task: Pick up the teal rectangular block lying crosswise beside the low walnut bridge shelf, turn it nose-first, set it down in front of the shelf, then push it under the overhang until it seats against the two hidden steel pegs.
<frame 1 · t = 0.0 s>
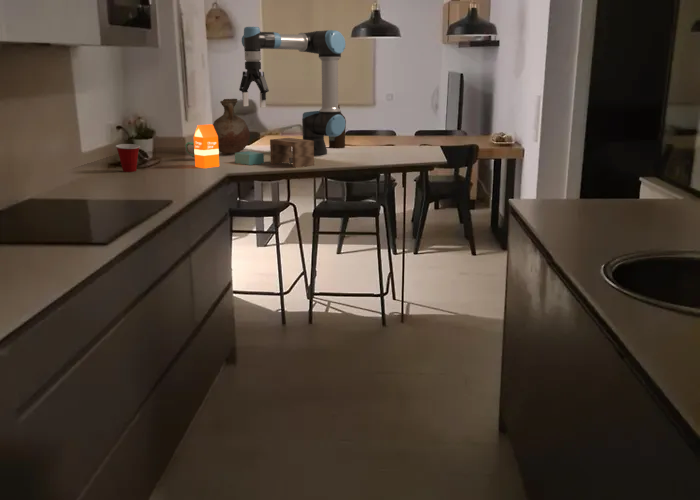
hand: (254, 106, 330), 28 cm above the counter, tool pointing down, fingers open, 13 cm apart
mug: (200, 160, 353), on the counter
teal rectangular block: (249, 163, 343), on the counter
orange juice: (207, 167, 331), on the counter
olive oil: (336, 147, 409), on the counter
plastic cup: (130, 171, 316), on the counter
shelf: (292, 164, 338), on the counter
jug: (231, 154, 377), on the counter
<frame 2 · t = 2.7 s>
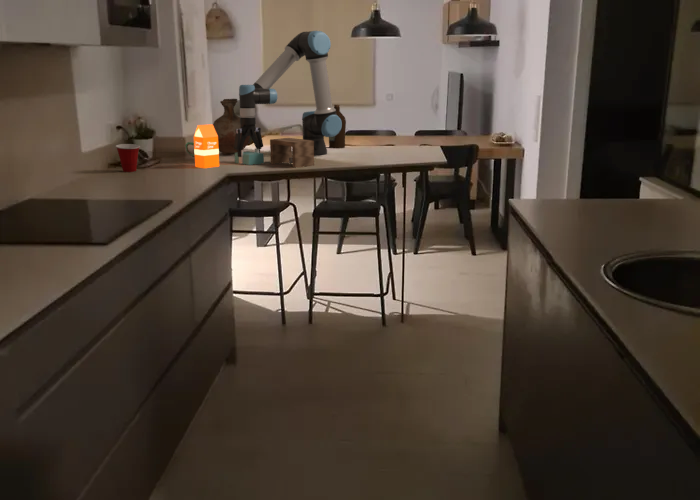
hand: (249, 162, 343), 0 cm above the counter, tool pointing down, fingers closed on teal rectangular block, 9 cm apart
teal rectangular block: (249, 163, 343), on the counter, touching gripper
everything else where it was.
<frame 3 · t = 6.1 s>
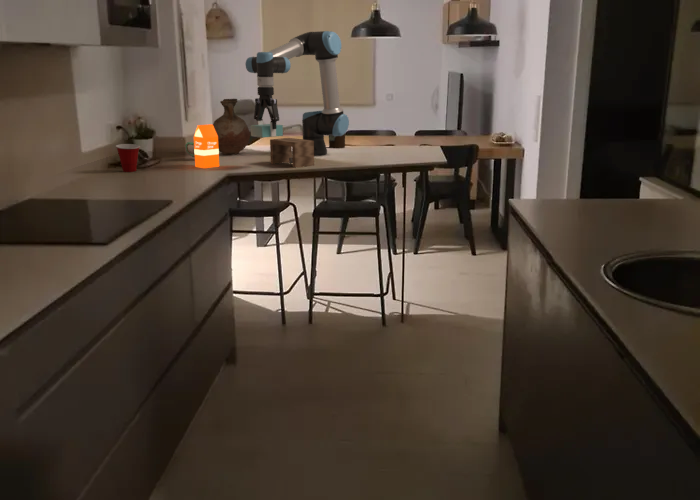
hand: (266, 135, 324), 15 cm above the counter, tool pointing down, fingers closed on teal rectangular block, 9 cm apart
teal rectangular block: (266, 135, 324), point 15 cm above the counter, touching gripper
everything else where it was.
when the fingers open (1 cm above the counter, at t = 9.1 s): teal rectangular block stays where it is, on the counter.
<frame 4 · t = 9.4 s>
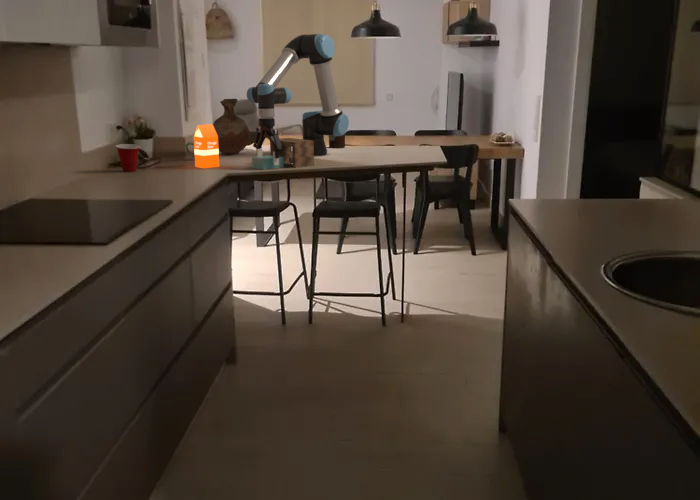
hand: (267, 163, 327), 2 cm above the counter, tool pointing down, fingers open, 12 cm apart
teal rectangular block: (268, 167, 328), on the counter
everything else where it was.
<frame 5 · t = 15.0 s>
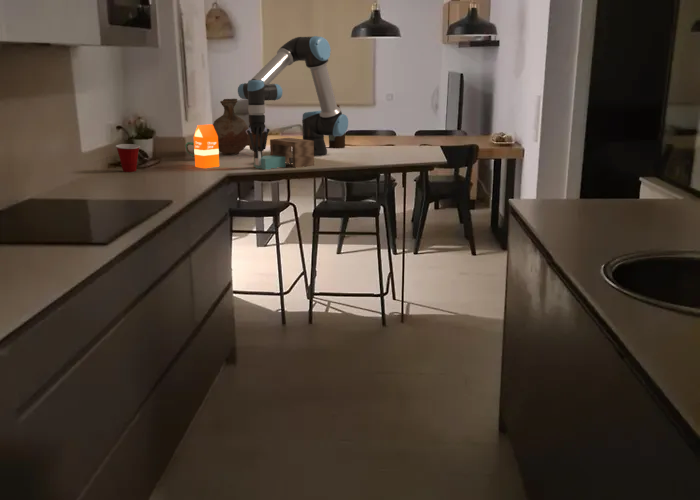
hand: (258, 164, 324), 2 cm above the counter, tool pointing down, fingers closed
teal rectangular block: (269, 167, 329), on the counter, touching gripper
everything else where it was.
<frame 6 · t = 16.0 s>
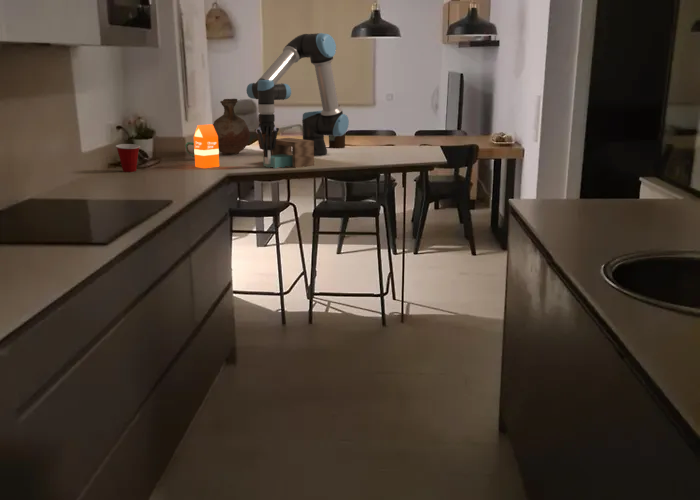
hand: (267, 163, 327), 2 cm above the counter, tool pointing down, fingers closed
teal rectangular block: (279, 166, 332), on the counter, touching gripper
everything else where it was.
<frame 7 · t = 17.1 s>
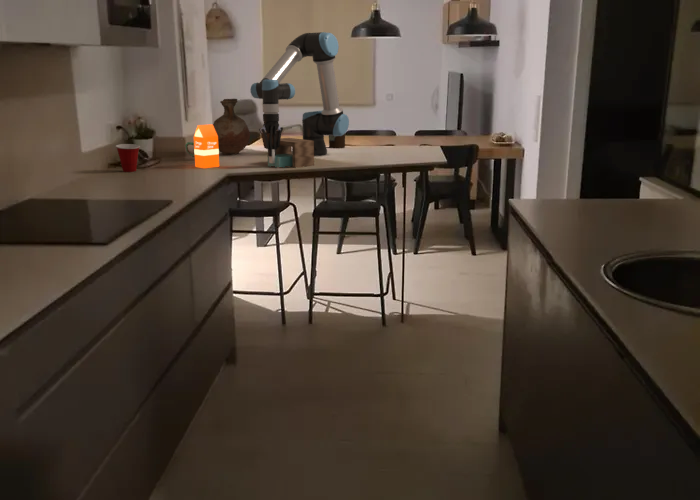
hand: (272, 162, 329), 2 cm above the counter, tool pointing down, fingers closed
teal rectangular block: (283, 165, 334), on the counter, touching gripper, shelf
everything else where it was.
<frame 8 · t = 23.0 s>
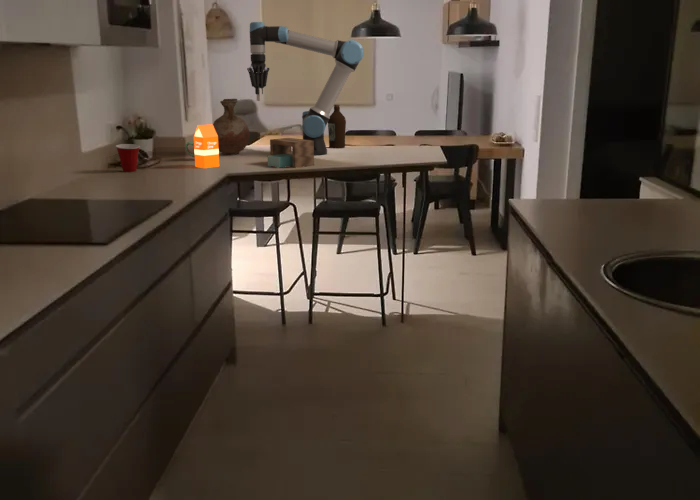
hand: (259, 100, 357), 29 cm above the counter, tool pointing down, fingers closed
teal rectangular block: (283, 165, 334), on the counter
everything else where it was.
at the end: teal rectangular block 0.2 cm from the target spot on the shelf, point 0.0 cm above the shelf's base; teal rectangular block tilted 0°; the gripper is holding nothing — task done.
